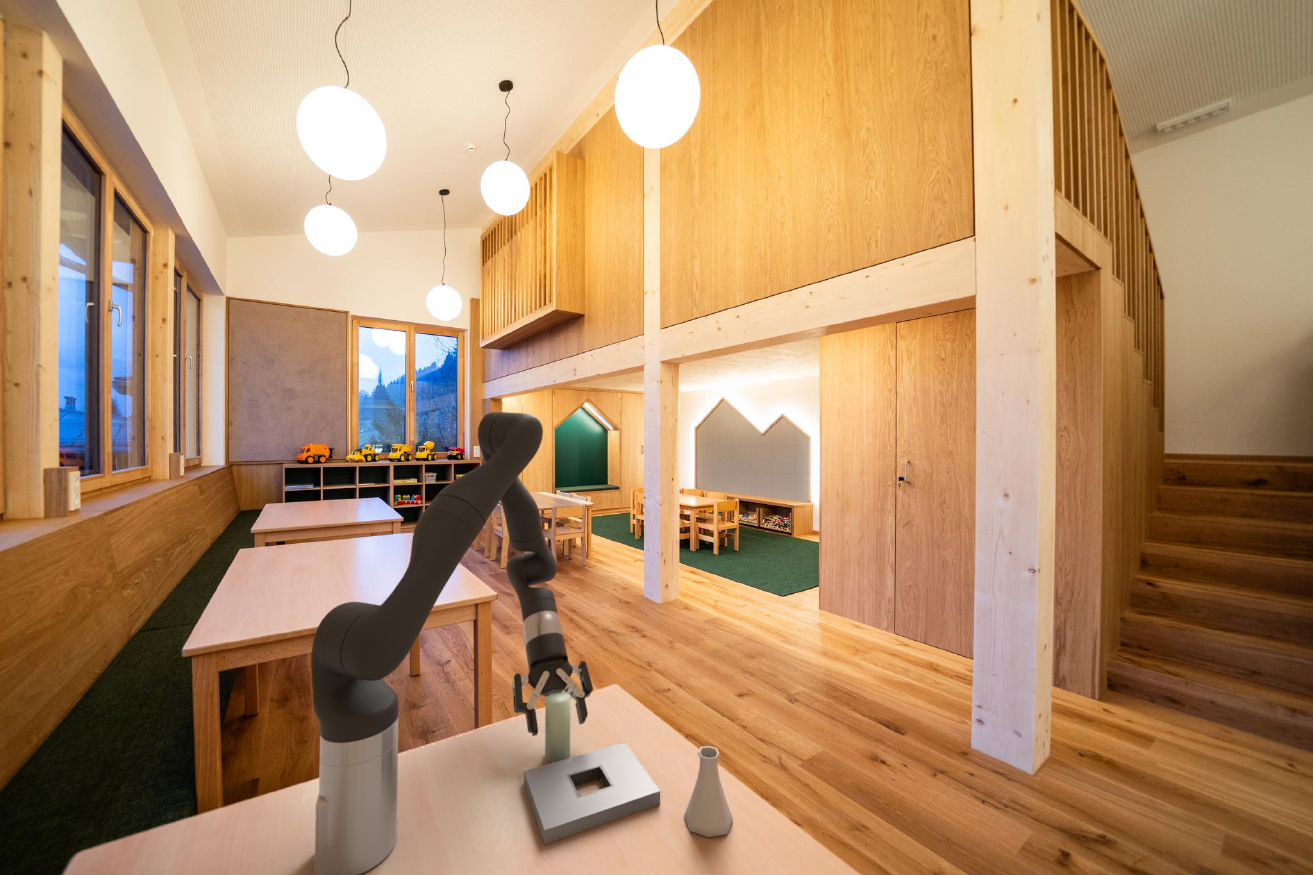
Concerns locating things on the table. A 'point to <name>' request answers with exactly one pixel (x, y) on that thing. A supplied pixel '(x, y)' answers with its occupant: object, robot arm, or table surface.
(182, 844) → the table surface
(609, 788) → the socket plate
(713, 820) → the flask
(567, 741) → the peg
